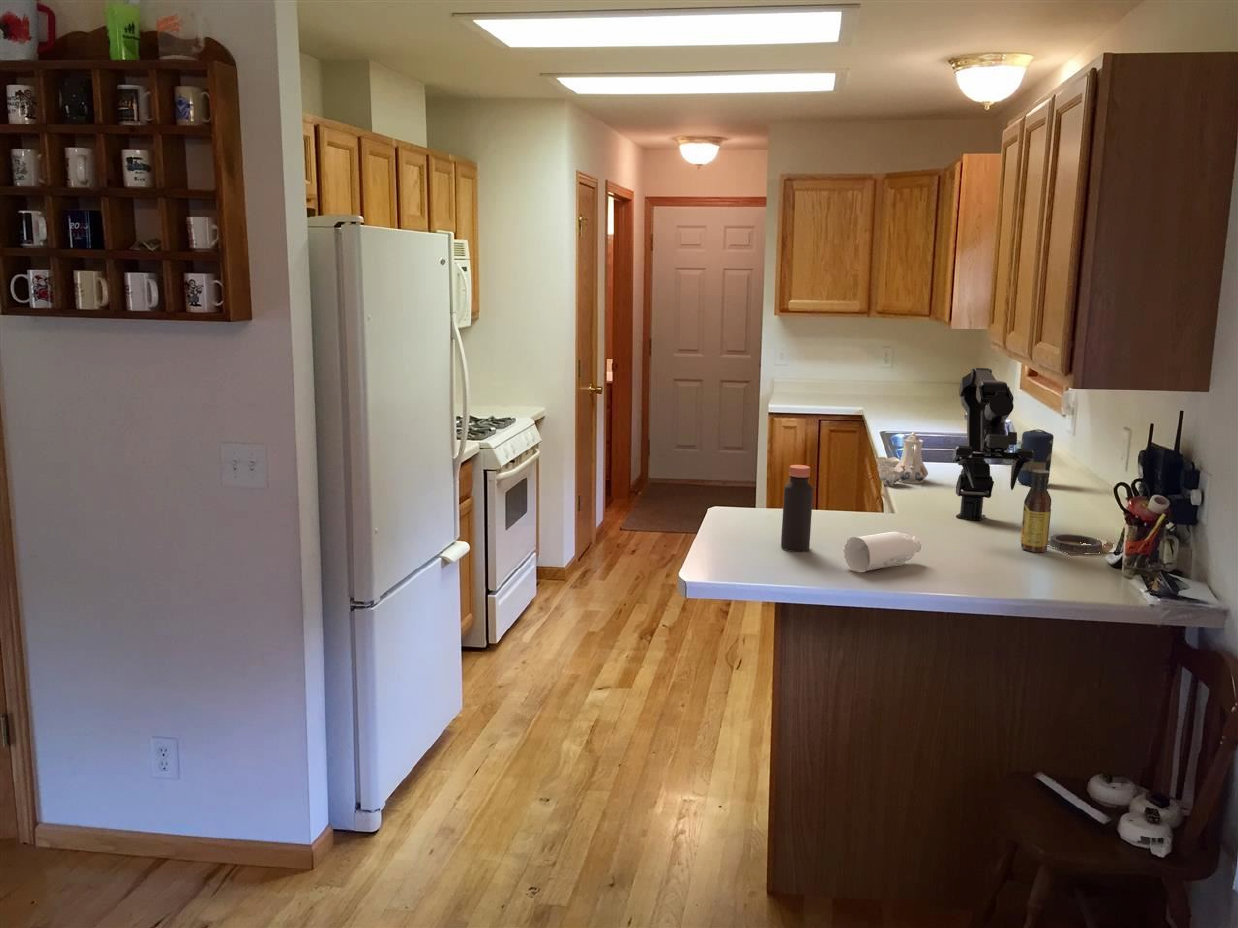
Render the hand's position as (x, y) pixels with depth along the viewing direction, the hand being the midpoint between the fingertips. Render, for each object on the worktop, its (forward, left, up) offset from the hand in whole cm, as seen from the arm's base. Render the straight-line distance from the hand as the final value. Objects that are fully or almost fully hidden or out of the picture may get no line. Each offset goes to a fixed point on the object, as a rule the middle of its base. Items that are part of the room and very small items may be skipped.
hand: (992, 488), depth 261 cm
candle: (-85, -8, -14) cm, 86 cm away
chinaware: (-62, -44, -14) cm, 78 cm away
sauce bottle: (+1, +11, -14) cm, 18 cm away
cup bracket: (-10, +21, -14) cm, 27 cm away
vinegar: (+37, -36, -14) cm, 54 cm away
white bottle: (+39, -14, -14) cm, 44 cm away
